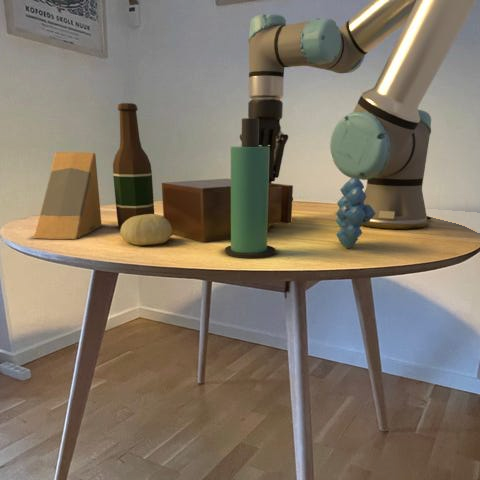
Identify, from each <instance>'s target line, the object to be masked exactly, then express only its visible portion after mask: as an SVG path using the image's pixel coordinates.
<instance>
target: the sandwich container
mask: <svg viewBox="0 0 480 480" xmlns="http://www.w3.org/2000/svg"><path fill="white" fill-rule="evenodd" d="M96 157H97V155H96V153H95V152H84V151H83V152H82V151H79V152H78V151H56V152H55V153H54V156H53V161H52V166H51V170H50V175H49V178H48V183H47V187H46V190H45V195H44V198H43V203H42V207H41V210H40V215H39V217H38V221H37V225H36V228H35V233H34V236H33V239H40V240H41V239H47V240H48V239H49V240H77V239H79V238H81V237H83V236H85V235H87V234H89V233H91V232H93V231H94V230H96V229H98V228H100V227H101V226H102V214H101V203H100V202H101V201H100V191H99V180H98V170H97V169H98V168H97V167H98V166H97V159H96Z"/></svg>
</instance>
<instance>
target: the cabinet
mask: <svg viewBox="0 0 480 480" xmlns="http://www.w3.org/2000/svg"><path fill="white" fill-rule="evenodd" d="M161 195H162V196H161V197H162V213H163V215H162V217H164V218H165V219H167V220H168V222H169V223H170V224H171V227H172V235H175V236H178V237H183V238H187V239H189V240H193V241H196V242H197V241H198V242H201V243H209V242H215V241H216V242H217V241H222V240H229V239H231V178H215V179H199V180H183V181H169V182H168V181H166V182H161ZM269 222H270V183H269V189H268V227H267V233H270V224H269Z"/></svg>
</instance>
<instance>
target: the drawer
mask: <svg viewBox="0 0 480 480" xmlns="http://www.w3.org/2000/svg"><path fill="white" fill-rule="evenodd" d="M293 192H294V185H293V184H283V183H282V184H281V183H273V182H272V183H270V222H269V225H273V224H279V223H281V224H287V225H289V224H292V216H293V215H292V213H293V201H294V196H293V194H294V193H293Z"/></svg>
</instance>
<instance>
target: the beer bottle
mask: <svg viewBox="0 0 480 480" xmlns="http://www.w3.org/2000/svg"><path fill="white" fill-rule="evenodd" d="M117 110H118V111H119V148H118V150H117V151H116V153H115V155H114V158H113V161H112V162H113V163H112V176H113V177H112V178H113V187H114V188H113V189H114V199H115V209H116V219H117V226H118V228H119V229H121V226H122V225H123V223H124V222H125V221H126V220H128V219H129V218H131V217H134V216H138V215H145V214H155V199H154V185H153V171H152V163H151V161H150V159H149V156H148V154H147V152H146V151H145V150H144V149H143V147H142V143H141V139H140V131H139V124H138V116H137V111H138V110H139V108H138V105H137V104H135V103H132V102H121V103H118V105H117Z"/></svg>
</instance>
